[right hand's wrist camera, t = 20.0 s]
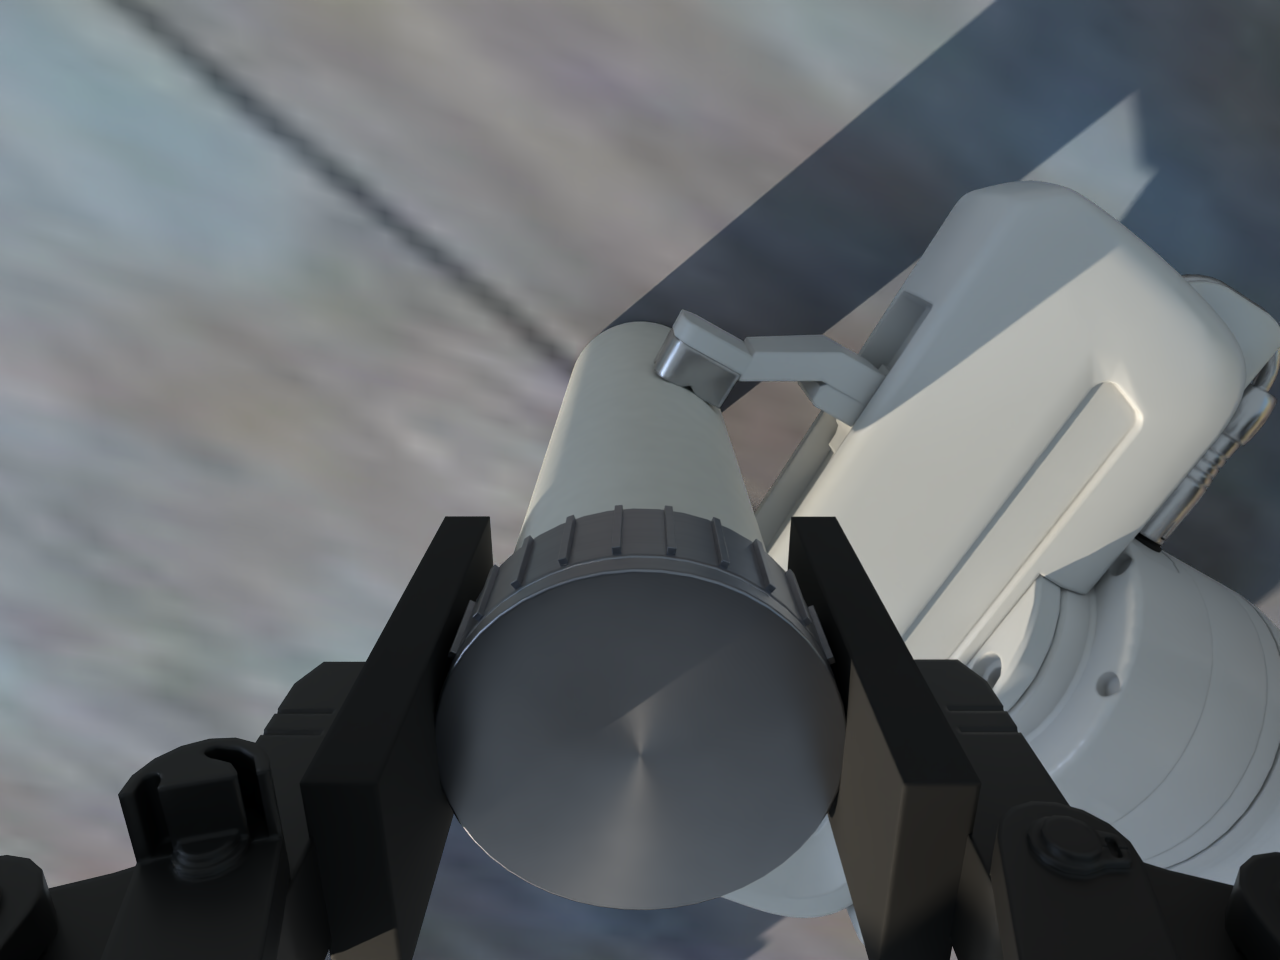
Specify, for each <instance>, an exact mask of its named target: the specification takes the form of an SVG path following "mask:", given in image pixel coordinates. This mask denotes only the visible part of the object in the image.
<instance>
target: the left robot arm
mask: <svg viewBox="0 0 1280 960" xmlns="http://www.w3.org/2000/svg"><path fill="white" fill-rule="evenodd" d="M654 364H655V366H654V370H655V371H656V373H657V374H659V375H660V376H661V377H663V378H664V379H666V380H667V381H669V382H671V383H672V384H675V385H677V386H680V387H683V386H691V388H692V390H693V392H694V394H695V395H696V396H697V397H699V398H700V399H702V400H704V401H706V402H707V403H709V404H711V405H713V406H715V407H717V408H719V409H720V407H721V405H722V404H723V402H724V401H725V399H726V398H727V396H728V394H729V393H730V391H731V390H732V388H733V387H734V385H735V383H736V382H737V380H738V379H739V381H798V384H799V386H800V387H801V388H802V390H803V391H804V393H805V394H806V395H807V397H808V398H809V399H810V401H811V402H812V404H813V405H814V406H815V407H817V408H819V409H821V412H820V413H819V415H818V416H817V418H816V419H815V421H814V422H813V424H812V425H811V427H810V428H809V430H808V432H807V433H806V435H805V436H804V438H803V439H802V441H801V442H800V444H799V445H798V447H797V448H796V450H795V451H794V453H793V455H792V456H791V458H790V459H789V461H788V462H787V464H786V465H785V467H784V468H783V470H782V471H781V473H780V475H779V476H778V478H777V479H776V481H775V482H774V484H773V485H772V487H771V488H770V490H769V491H768V493H767V494H766V496H765V498H764V499H763V501H762V502H761V504H760V505H759V507H758V508H757V510H756V511H755V513H754V514H755V518H756V521H757V524H758V527H759V530H760V533H761V536H762V539H763V542H764V545H765V548H766V551H767V554H769V555H770V556H771V557H772V558H773V559H774V560H775V561H776V562H777V563H778V564H779V565H780V566H781V567H782V568H783V569H784V570H785V571H787V569H788V554H789V540H790V526H791V517H836V518H837V520H838V522H839V524H840V526H841V528H842V529H843V531H844V533H845V535H846V537H847V539H848V540H849V542H850V544H851V546H852V548H853V550H854V551H855V553H856V555H857V557H858V559H859V560H860V562H861V564H862V566H863V568H864V570H865V571H866V573H867V575H868V577H869V579H870V581H871V582H872V584H873V586H874V588H875V590H876V591H877V593H878V595H879V597H880V599H881V601H882V602H883V604H884V606H885V608H886V610H887V612H888V613H889V615H890V617H891V619H892V621H893V622H894V624H895V626H896V628H897V630H898V632H899V633H900V635H901V637H902V639H903V641H904V643H905V644H906V646H907V648H908V650H909V652H910V653H911V655H912V657H913V659H958V660H959V661H960V662H962V663H963V664H964V665H966V666H967V667H968V668H970V669H971V670H973V671H974V672H975V673H977V674H978V675H979V676H981V677H982V678H983V679H985V680H986V681H987V682H988V684H989V685H990V687H991V688H992V690H993V691H994V693H995V694H996V696H997V697H998V699H999V700H1000V702H1001V703H1002V705H1003V709H1004V711H1007V712H1008V714H1009V715H1010V717H1011V718H1012V720H1013V721H1014V723H1015V724H1016V726H1017V730H1018V732H1021V733H1022V735H1023V736H1024V738H1025V739H1026V741H1027V742H1028V744H1029V745H1030V747H1031V748H1032V750H1033V751H1034V753H1035V754H1036V756H1037V757H1038V759H1039V760H1040V762H1041V763H1042V765H1043V766H1044V768H1045V769H1046V771H1047V772H1048V774H1049V775H1050V777H1051V778H1052V780H1053V781H1054V783H1055V784H1056V786H1057V787H1058V789H1059V790H1060V792H1061V793H1062V795H1063V796H1064V798H1065V799H1066V801H1067V802H1068V804H1069V805H1070V806H1071V807H1075V808H1078V809H1082V810H1084V811H1086V812H1088V813H1090V814H1092V815H1094V816H1096V817H1098V818H1099V819H1101V820H1103V821H1105V822H1107V823H1109V824H1110V825H1111V826H1113V827H1114V828H1115V829H1116V830H1117V831H1118V832H1120V833H1121V834H1122V835H1123V836H1124V837H1125V838H1127V839H1128V840H1129V841H1130V842H1131V843H1132V845H1133V847H1134V848H1135V850H1136V851H1137V853H1138V854H1139V856H1140V858H1141V859H1142V861H1143V862H1145V863H1148V864H1151V865H1154V866H1157V867H1161V868H1164V869H1167V870H1171V871H1175V872H1179V873H1183V874H1188V875H1192V876H1196V877H1200V878H1204V879H1209V880H1213V881H1217V882H1221V883H1225V884H1230V885H1234V883H1235V880H1236V877H1237V874H1238V871H1239V868H1240V866H1241V865H1242V864H1243V863H1245V862H1246V861H1247V860H1248V859H1249V858H1250V857H1251V856H1253V855H1258V854H1264V853H1271V852H1280V630H1279V629H1278V628H1277V627H1276V626H1275V624H1274V623H1273V622H1272V621H1271V620H1270V619H1269V618H1268V617H1267V616H1266V615H1265V614H1264V613H1263V612H1262V611H1261V610H1260V609H1259V608H1257V607H1256V606H1255V605H1253V604H1252V603H1251V602H1249V601H1248V600H1247V599H1245V598H1244V597H1243V596H1241V595H1240V594H1239V593H1237V592H1235V591H1233V590H1232V589H1230V588H1228V587H1226V586H1224V585H1223V584H1221V583H1219V582H1218V581H1216V580H1214V579H1212V578H1211V577H1209V576H1207V575H1205V574H1203V573H1202V572H1200V571H1198V570H1196V569H1194V568H1193V567H1191V566H1189V565H1187V564H1186V563H1184V562H1182V561H1180V560H1179V559H1177V558H1175V557H1173V556H1172V555H1170V554H1168V553H1166V552H1165V551H1163V550H1162V549H1161V548H1160V546H1161V545H1162V544H1163V543H1164V542H1165V540H1166V539H1167V538H1168V537H1169V536H1170V535H1171V534H1172V532H1173V531H1174V530H1175V529H1176V528H1177V526H1178V525H1179V524H1180V523H1181V522H1182V521H1183V519H1184V518H1185V517H1186V516H1187V515H1188V514H1189V512H1190V511H1191V510H1192V509H1193V508H1194V506H1195V505H1196V504H1197V503H1198V502H1199V500H1200V499H1201V498H1202V496H1203V495H1204V494H1205V492H1206V491H1207V490H1206V488H1207V487H1209V486H1210V484H1211V483H1212V481H1213V480H1212V478H1215V477H1216V475H1217V474H1218V473H1219V468H1222V467H1223V466H1224V465H1225V463H1226V462H1227V461H1226V460H1227V459H1230V458H1231V456H1232V455H1233V454H1234V453H1235V452H1236V450H1237V449H1238V448H1239V447H1240V446H1241V445H1242V446H1245V445H1246V444H1247V443H1248V442H1249V441H1250V440H1251V439H1252V438H1253V437H1254V436H1255V435H1256V434H1257V433H1258V431H1259V430H1260V429H1261V428H1262V426H1263V425H1264V424H1265V422H1266V421H1267V419H1268V418H1269V416H1270V414H1271V413H1272V411H1273V409H1274V407H1275V405H1276V403H1277V399H1276V398H1275V396H1273V395H1271V394H1270V393H1268V392H1269V391H1270V389H1271V387H1272V385H1273V383H1274V381H1275V379H1276V377H1277V375H1278V372H1279V368H1280V326H1279V325H1278V323H1277V322H1276V320H1275V319H1274V318H1273V317H1272V316H1270V315H1269V314H1268V313H1267V311H1266V310H1265V309H1264V308H1262V307H1261V306H1259V305H1258V304H1256V303H1254V302H1253V301H1251V300H1250V299H1248V298H1247V297H1245V296H1244V295H1242V294H1241V293H1239V292H1238V291H1236V290H1234V289H1233V288H1231V287H1230V286H1228V285H1227V284H1225V283H1224V282H1222V281H1220V280H1218V279H1215V278H1213V277H1209V276H1204V275H1199V274H1186V275H1180V274H1179V273H1178V272H1177V271H1176V270H1175V269H1174V268H1173V267H1172V266H1170V265H1169V264H1168V263H1167V262H1166V261H1165V260H1164V259H1163V258H1162V257H1161V256H1160V255H1159V254H1157V253H1156V252H1155V251H1154V250H1153V249H1152V248H1150V247H1149V246H1148V245H1147V244H1146V243H1145V242H1143V241H1142V240H1141V239H1140V238H1139V237H1137V236H1136V235H1135V234H1134V233H1133V232H1131V231H1130V230H1129V229H1128V228H1127V227H1125V226H1124V225H1123V224H1122V223H1120V222H1119V221H1118V220H1116V219H1115V218H1114V217H1112V216H1111V215H1110V214H1108V213H1107V212H1106V211H1104V210H1103V209H1102V208H1100V207H1099V206H1097V205H1096V204H1095V203H1093V202H1092V201H1090V200H1089V199H1087V198H1086V197H1084V196H1083V195H1081V194H1079V193H1078V192H1076V191H1074V190H1072V189H1069V188H1066V187H1063V186H1060V185H1057V184H1052V183H1047V182H1040V181H1015V182H1007V183H1003V184H998V185H993V186H989V187H985V188H981V189H977V190H973V191H971V192H968V193H967V194H965V195H964V196H962V197H961V198H960V200H959V201H958V202H957V203H956V205H955V206H954V207H953V209H952V210H951V212H950V213H949V215H948V216H947V218H946V220H945V221H944V223H943V224H942V226H941V227H940V229H939V230H938V232H937V234H936V235H935V237H934V238H933V240H932V241H931V243H930V244H929V246H928V247H927V249H926V250H925V252H924V253H923V255H922V257H921V258H920V260H919V261H918V263H917V264H916V266H915V267H914V269H913V270H912V272H911V273H910V275H909V277H908V278H907V280H906V281H905V283H904V284H903V286H902V287H901V289H900V290H899V292H898V293H897V295H896V296H895V298H894V300H893V301H892V303H891V304H890V306H889V307H888V309H887V310H886V312H885V313H884V315H883V316H882V318H881V319H880V321H879V323H878V324H877V326H876V327H875V329H874V330H873V332H872V333H871V335H870V336H869V338H868V339H867V341H866V343H865V344H864V346H863V347H862V349H861V350H860V352H859V353H858V354H856V353H855V352H853V351H851V350H849V349H848V348H846V347H844V346H842V345H841V344H839V343H837V342H835V341H833V340H832V339H830V338H828V337H826V336H825V335H823V334H820V335H789V336H758V337H746V338H745V340H744V341H742V340H741V339H739V338H737V337H735V336H734V335H732V334H730V333H728V332H726V331H725V330H723V329H721V328H719V327H717V326H716V325H714V324H712V323H710V322H709V321H707V320H705V319H703V318H701V317H700V316H698V315H696V314H694V313H691V312H689V311H686V310H683V309H682V310H681V312H680V314H679V315H678V317H677V319H676V321H675V323H674V325H673V326H672V328H671V330H670V331H669V333H668V335H667V337H666V339H665V341H664V342H663V344H662V346H661V348H660V350H659V352H658V354H657V355H656V357H655V359H654ZM1253 379H1254V380H1253ZM1252 380H1253V382H1252V384H1250V382H1251V381H1252ZM721 897H722V898H725V899H728V900H730V901H733V902H736V903H739V904H742V905H745V906H748V907H751V908H754V909H757V910H761V911H764V912H768V913H772V914H776V915H781V916H786V917H795V918H813V917H822V916H826V915H830V914H833V913H836V912H838V911H841V910H843V909H845V908H846V909H847V911H848V914H849V916H850V919H851V921H852V924H853V926H854V929H855V931H856V933H857V936H858V938H859V940H860V941H861V942H862V943H863V944H864V941H863V937H862V934H861V930H860V927H859V923H858V920H857V916H856V913H855V909H854V906H853V902H852V899H851V895H850V892H849V888H848V885H847V881H846V878H845V874H844V871H843V867H842V864H841V860H840V857H839V853H838V850H837V846H836V843H835V839H834V836H833V832H832V829H831V825H830V822H829V818H828V815H827V814H826V816H825V817H824V819H823V820H822V822H821V823H820V825H819V826H818V828H817V829H816V831H815V832H814V833H813V834H812V835H811V837H810V838H809V839H808V840H807V841H806V842H805V843H804V845H803V846H802V847H801V848H800V849H799V850H798V851H796V852H795V853H794V854H793V855H792V856H791V857H790V858H789V859H787V860H786V861H785V862H784V863H783V864H781V865H780V866H778V867H777V868H776V869H774V870H773V871H771V872H770V873H768V874H767V875H765V876H764V877H762V878H760V879H758V880H756V881H755V882H753V883H751V884H749V885H747V886H745V887H743V888H741V889H739V890H736V891H734V892H731V893H729V894H726V895H724V896H721ZM864 945H865V944H864Z"/></svg>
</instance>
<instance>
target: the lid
mask: <svg viewBox="0 0 1280 960" xmlns="http://www.w3.org/2000/svg"><path fill="white" fill-rule="evenodd" d="M448 657H449V658H451V659H453V660H452V663H451V666H450V668H449V671H448V674H447V677H446V679H445V682H444V684H443V687H442V690H441V692H440V696H439V700H438V704H437V708H436V712H435V736H436V746H437V755H438V765H439V774H440V782H441V786H442V789H443V792H444V794H445V797H446V799H447V802H448V804H449V805H450V807H451V809H452V811H453V812H454V814H455V816H456V818H457V819H458V821H459V823H460V824H461V825H462V826H463V828H464V829H465V830H466V832H467V833H468V834H469V835H470V837H471V838H472V839H473V841H474V842H475V843H476V844H478V845H479V846H480V847H481V848H482V849H483V850H484V851H485V852H486V853H487V854H488V855H489V856H490V857H491V858H492V859H494V860H495V861H496V862H497V863H499V864H500V865H501V866H503V867H504V868H505V869H507V870H508V871H509V872H511V873H513V874H514V875H516V876H518V877H519V878H521V879H523V880H524V881H526V882H528V883H530V884H532V885H534V886H536V887H538V888H541V889H543V890H545V891H547V892H549V893H552V894H555V895H558V896H561V897H564V898H567V899H570V900H573V901H576V902H581V903H585V904H590V905H594V906H599V907H607V908H616V909H630V910H652V909H666V908H675V907H680V906H686V905H692V904H697V903H701V902H704V901H708V900H711V899H715V898H718V897H721V896H724V895H726V894H729V893H731V892H734V891H736V890H739V889H741V888H743V887H745V886H747V885H749V884H751V883H753V882H755V881H756V880H758V879H760V878H762V877H764V876H765V875H767V874H768V873H770V872H771V871H773V870H774V869H776V868H777V867H778V866H780V865H781V864H783V863H784V862H785V861H786V860H787V859H789V858H790V857H791V856H792V855H793V854H794V853H795V852H796V851H798V850H799V849H800V848H801V847H802V846H803V845H804V843H805V842H806V841H807V840H808V839H809V838H810V837H811V835H812V834H813V833H814V832H815V831H816V829H817V828H818V826H819V825H820V823H821V822H822V820H823V819H824V817H825V816H826V814H827V813H828V811H829V809H830V807H831V805H832V803H833V801H834V799H835V797H836V794H837V792H838V789H839V786H840V781H841V774H842V764H843V755H844V745H845V735H846V714H845V708H844V703H843V700H842V697H841V694H840V691H839V688H838V685H837V682H836V680H835V677H834V674H833V672H832V669H831V667H830V665H831V664H833V663H836V661H835V659H834V656H833V653H832V651H831V648H830V646H829V643H828V641H827V638H826V635H825V633H824V630H823V628H822V625H821V623H820V620H819V618H818V615H817V612H816V610H815V608H814V606H813V605H812V606H809V607H808V606H807V604H806V602H805V600H804V599H803V596H802V593H801V591H800V588H799V585H798V583H797V580H796V577H795V574H794V573H793V572H792V570H791V569H789V570H788V571H785V570H784V569H783V568H782V567H781V566H780V565H779V564H778V563H777V562H776V561H775V560H774V559H773V558H772V557H771V556H770V555H769V554H767V553H766V552H765V551H764V548H763V545H762V542H760V541H759V540H758V539H755V540H754V541H753V542H752V541H750V540H749V539H747V538H745V537H743V536H742V535H740V534H738V533H736V532H735V531H733V530H731V529H729V528H727V527H724V526H722V525H721V521H720V519H718V518H715V517H713V518H712V520H711V521H710V520H708V519H704V518H700V517H697V516H693V515H690V514H686V513H681V512H675V511H673V507H672V506H666V505H665V508H664V510H661V509H636V508H633V509H623V505H615V509H614V510H612V511H605V512H601V513H596V514H591V515H587V516H583V517H580V518H577V519H575V516H574V515H571V516H568V517H567V518H566V523H563V524H560V525H558V526H556V527H554V528H552V529H550V530H548V531H546V532H544V533H542V534H540V535H539V536H537V537H536V538H534V539H533V538H532V537H531V536H530V535H529V536H528V537H526V538H525V539H524V541H523V545H522V547H521V548H519V549H518V550H517V551H516V552H515V553H514V554H513V555H512V556H510V557H509V558H508V559H507V560H506V561H505V562H504V563H503V564H502V565H501V566H500V567H498V566H496V565H494V566H493V567H492V568H491V569H490V572H489V574H488V577H487V580H486V583H485V585H484V588H483V590H482V591H481V593H480V595H479V596H478V598H477V599H476V602H474V601H471V600H470V601H469V603H468V605H467V607H466V610H465V613H464V615H463V618H462V620H461V623H460V625H459V628H458V631H457V633H456V636H455V638H454V641H453V643H452V646H451V648H450V651H449V654H448Z"/></svg>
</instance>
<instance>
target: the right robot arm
mask: <svg viewBox="0 0 1280 960" xmlns="http://www.w3.org/2000/svg"><path fill="white" fill-rule="evenodd" d="M492 567H493V556H492V542H491V528H490V517H445V518H444V520H443V522H442V524H441V526H440V527H439V529H438V531H437V533H436V535H435V537H434V538H433V540H432V542H431V544H430V546H429V547H428V549H427V551H426V553H425V555H424V557H423V558H422V560H421V562H420V564H419V566H418V568H417V569H416V571H415V573H414V575H413V577H412V579H411V580H410V582H409V584H408V586H407V588H406V589H405V591H404V593H403V595H402V597H401V599H400V600H399V602H398V604H397V606H396V608H395V610H394V611H393V613H392V615H391V617H390V619H389V620H388V622H387V624H386V626H385V628H384V630H383V631H382V633H381V635H380V637H379V639H378V641H377V642H376V644H375V646H374V648H373V650H372V652H371V653H370V655H369V657H368V659H367V661H366V662H323V663H322V664H320V665H319V666H318V667H316V668H315V669H314V670H312V671H311V672H310V673H308V674H307V675H305V676H304V677H303V678H301V679H300V680H299V681H297V682H296V683H295V684H294V685H293V687H292V688H291V690H290V691H289V693H288V694H287V696H286V697H285V699H284V700H283V702H282V703H281V705H280V706H279V708H278V713H277V714H274V716H273V717H272V719H271V720H270V722H269V723H268V725H267V726H266V728H265V729H264V735H260V737H259V738H258V740H257V741H256V743H254V742H250V741H246V740H243V739H239V738H216V739H207V740H203V741H199V742H195V743H191V744H187V745H183V746H180V747H178V748H176V749H174V750H172V751H170V752H168V753H166V754H163V755H161V756H159V757H157V758H155V759H153V760H152V761H151V762H149V763H148V764H147V765H145V766H144V767H143V768H141V769H140V770H139V771H137V772H136V773H135V774H133V775H132V776H131V778H130V779H129V780H128V782H127V783H126V784H125V786H124V787H123V789H122V790H121V791H120V793H119V794H118V796H119V800H120V803H121V807H122V811H123V814H124V818H125V821H126V825H127V829H128V832H129V836H130V839H131V843H132V847H133V850H134V854H135V857H136V861H137V864H136V866H135V867H131V868H128V869H125V870H122V871H119V872H115V873H112V874H108V875H103V876H99V877H95V878H91V879H87V880H82V881H78V882H74V883H70V884H66V885H61V886H57V887H53V888H49V889H48V886H47V883H46V880H45V877H44V874H43V871H42V869H41V868H40V867H38V866H37V865H36V864H35V863H34V862H33V861H32V860H31V859H29V858H22V857H16V856H10V855H4V856H0V960H325V958H326V955H327V953H328V950H329V951H330V956H331V960H412V958H413V954H414V951H415V947H416V944H417V940H418V937H419V933H420V930H421V926H422V923H423V919H424V916H425V912H426V909H427V905H428V902H429V898H430V895H431V891H432V888H433V884H434V881H435V877H436V874H437V870H438V867H439V863H440V860H441V856H442V853H443V849H444V846H445V842H446V839H447V835H448V832H449V828H450V825H451V821H452V818H453V814H454V812H453V811H452V809H451V807H450V805H449V804H448V802H447V799H446V797H445V794H444V792H443V789H442V786H441V782H440V774H439V765H438V755H437V746H436V736H435V712H436V708H437V704H438V700H439V696H440V692H441V690H442V687H443V684H444V682H445V679H446V677H447V674H448V671H449V668H450V666H451V663H452V660H453V659H451V658H449V657H448V654H449V651H450V648H451V646H452V643H453V641H454V638H455V636H456V633H457V631H458V628H459V625H460V623H461V620H462V618H463V615H464V613H465V610H466V607H467V605H468V603H469V601H470V600H471V601H474V602H476V599H477V598H478V596H479V595H480V593H481V591H482V590H483V588H484V585H485V583H486V580H487V577H488V574H489V572H490V569H491V568H492ZM789 569H791V570H792V572H793V573H794V574H795V577H796V580H797V583H798V585H799V588H800V591H801V593H802V596H803V599H804V600H805V602H806V604H807V606H808V607H809V606H812V605H813V606H814V608H815V610H816V612H817V615H818V618H819V620H820V623H821V625H822V628H823V630H824V633H825V635H826V638H827V641H828V643H829V646H830V648H831V651H832V653H833V656H834V659H835V661H836V663H833V664H831V665H830V667H831V669H832V672H833V674H834V677H835V680H836V682H837V685H838V688H839V691H840V694H841V697H842V700H843V703H844V708H845V714H846V735H845V745H844V755H843V764H842V774H841V781H840V786H839V789H838V792H837V794H836V797H835V799H834V801H833V803H832V805H831V807H830V809H829V811H828V813H827V815H828V818H829V822H830V825H831V829H832V832H833V836H834V839H835V843H836V846H837V850H838V853H839V857H840V860H841V864H842V867H843V871H844V874H845V878H846V881H847V885H848V888H849V892H850V895H851V899H852V902H853V906H854V909H855V913H856V916H857V920H858V923H859V927H860V930H861V934H862V937H863V941H864V944H865V948H866V951H867V955H868V958H869V960H950V956H951V950H952V946H953V949H954V951H955V954H956V956H957V959H958V960H1280V852H1271V853H1264V854H1258V855H1253V856H1251V857H1250V858H1249V859H1248V860H1247V861H1246V862H1245V863H1243V864H1242V865H1241V866H1240V868H1239V871H1238V874H1237V877H1236V880H1235V883H1234V885H1230V884H1225V883H1221V882H1217V881H1213V880H1209V879H1204V878H1200V877H1196V876H1192V875H1188V874H1183V873H1179V872H1175V871H1171V870H1167V869H1164V868H1161V867H1157V866H1154V865H1151V864H1148V863H1145V862H1143V861H1142V859H1141V858H1140V856H1139V854H1138V853H1137V851H1136V850H1135V848H1134V847H1133V845H1132V843H1131V842H1130V841H1129V840H1128V839H1127V838H1125V837H1124V836H1123V835H1122V834H1121V833H1120V832H1118V831H1117V830H1116V829H1115V828H1114V827H1113V826H1111V825H1110V824H1109V823H1107V822H1105V821H1103V820H1101V819H1099V818H1098V817H1096V816H1094V815H1092V814H1090V813H1088V812H1086V811H1084V810H1082V809H1078V808H1075V807H1071V806H1070V805H1069V804H1068V802H1067V801H1066V799H1065V798H1064V796H1063V795H1062V793H1061V792H1060V790H1059V789H1058V787H1057V786H1056V784H1055V783H1054V781H1053V780H1052V778H1051V777H1050V775H1049V774H1048V772H1047V771H1046V769H1045V768H1044V766H1043V765H1042V763H1041V762H1040V760H1039V759H1038V757H1037V756H1036V754H1035V753H1034V751H1033V750H1032V748H1031V747H1030V745H1029V744H1028V742H1027V741H1026V739H1025V738H1024V736H1023V735H1022V733H1021V732H1018V730H1017V726H1016V724H1015V723H1014V721H1013V720H1012V718H1011V717H1010V715H1009V714H1008V712H1007V711H1004V709H1003V705H1002V703H1001V702H1000V700H999V699H998V697H997V696H996V694H995V693H994V691H993V690H992V688H991V687H990V685H989V684H988V682H987V681H986V680H985V679H983V678H982V677H981V676H979V675H978V674H977V673H975V672H974V671H973V670H971V669H970V668H968V667H967V666H966V665H964V664H963V663H962V662H960V661H959V660H958V659H913V657H912V655H911V653H910V652H909V650H908V648H907V646H906V644H905V643H904V641H903V639H902V637H901V635H900V633H899V632H898V630H897V628H896V626H895V624H894V622H893V621H892V619H891V617H890V615H889V613H888V612H887V610H886V608H885V606H884V604H883V602H882V601H881V599H880V597H879V595H878V593H877V591H876V590H875V588H874V586H873V584H872V582H871V581H870V579H869V577H868V575H867V573H866V571H865V570H864V568H863V566H862V564H861V562H860V560H859V559H858V557H857V555H856V553H855V551H854V550H853V548H852V546H851V544H850V542H849V540H848V539H847V537H846V535H845V533H844V531H843V529H842V528H841V526H840V524H839V522H838V520H837V518H836V517H791V526H790V540H789V554H788V569H787V571H788V570H789Z"/></svg>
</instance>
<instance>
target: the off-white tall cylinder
mask: <svg viewBox="0 0 1280 960" xmlns="http://www.w3.org/2000/svg"><path fill="white" fill-rule="evenodd" d="M670 330H671V328H669V327H667V326H664V325H661V324H657V323H652V322H629V323H624V324H620V325H616V326H614V327H612V328H609V329H607V330H606V331H604V332H602V333H601V334H599V335H598V336H597V337H595V338H594V339H593V340H592V341H591V342H590V343H589V344H588V345H587V346H586V347H585V348H584V350H583V351H582V353H581V354H580V356H579V358H578V359H577V361H576V364H575V366H574V369H573V372H572V375H571V378H570V381H569V384H568V387H567V390H566V393H565V397H564V400H563V403H562V406H561V409H560V412H559V415H558V418H557V421H556V424H555V427H554V431H553V434H552V437H551V440H550V443H549V446H548V449H547V452H546V455H545V458H544V461H543V464H542V468H541V471H540V474H539V477H538V480H537V483H536V486H535V489H534V492H533V495H532V498H531V502H530V505H529V508H528V511H527V514H526V517H525V520H524V523H523V526H522V529H521V532H520V536H519V539H518V542H517V545H516V548H515V551H514V553H515V552H516V551H517V550H518V549H519V548H521V547H522V545H523V541H524V539H525V538H526V537H528V536H529V535H530V536H531V537H532V538H533V539H534V538H536V537H537V536H539V535H540V534H542V533H544V532H546V531H548V530H550V529H552V528H554V527H556V526H558V525H560V524H563V523H566V518H567V517H568V516H571V515H574V516H575V519H577V518H580V517H583V516H587V515H591V514H596V513H601V512H605V511H612V510H614V509H615V505H623V509H633V508H636V509H661V510H664V508H665V505H666V506H672V507H673V511H675V512H681V513H686V514H690V515H693V516H697V517H700V518H704V519H708V520H710V521H711V520H712V518H713V517H715V518H718V519H720V521H721V525H722V526H724V527H727V528H729V529H731V530H733V531H735V532H736V533H738V534H740V535H742V536H743V537H745V538H747V539H749V540H750V541H752V542H753V541H754V540H755V539H758V540H759V541H760V542H762V545H763V548H764V551H765V552H766V553H767V551H766V548H765V545H764V542H763V539H762V536H761V533H760V530H759V527H758V524H757V521H756V518H755V514H754V511H753V508H752V505H751V502H750V499H749V496H748V493H747V490H746V487H745V484H744V481H743V477H742V474H741V471H740V468H739V465H738V462H737V459H736V456H735V453H734V450H733V447H732V443H731V440H730V437H729V434H728V431H727V428H726V425H725V422H724V419H723V416H722V413H721V410H720V409H719V408H717V407H715V406H713V405H711V404H709V403H707V402H706V401H704V400H702V399H700V398H699V397H697V396H696V395H695V394H694V392H693V390H692V388H691V386H683V387H680V386H677V385H675V384H672V383H671V382H669V381H667V380H666V379H664V378H663V377H661V376H660V375H659V374H657V373H656V371H655V370H654V366H655V364H654V359H655V357H656V355H657V354H658V352H659V350H660V348H661V346H662V344H663V342H664V341H665V339H666V337H667V335H668V333H669V331H670Z"/></svg>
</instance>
